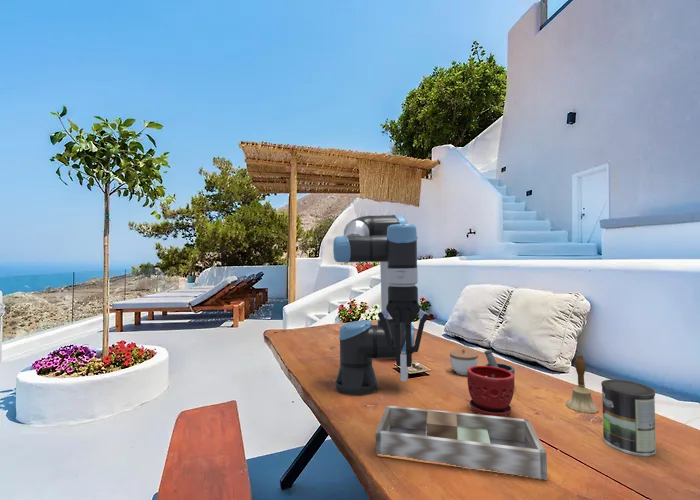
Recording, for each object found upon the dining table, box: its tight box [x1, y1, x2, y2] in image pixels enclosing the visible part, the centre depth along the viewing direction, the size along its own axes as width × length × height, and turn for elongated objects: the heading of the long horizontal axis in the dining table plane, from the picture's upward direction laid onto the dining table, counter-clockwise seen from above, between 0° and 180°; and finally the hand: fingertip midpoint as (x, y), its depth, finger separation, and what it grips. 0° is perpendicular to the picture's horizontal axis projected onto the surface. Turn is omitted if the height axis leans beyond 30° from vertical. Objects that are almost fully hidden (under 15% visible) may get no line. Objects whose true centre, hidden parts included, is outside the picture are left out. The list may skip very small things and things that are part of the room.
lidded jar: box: [449, 348, 479, 376], centre depth 139 cm, size 11×11×9 cm
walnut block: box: [426, 411, 458, 440], centre depth 85 cm, size 7×7×4 cm
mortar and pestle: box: [483, 349, 516, 378], centre depth 124 cm, size 11×9×12 cm
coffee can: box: [601, 379, 657, 457], centre depth 85 cm, size 10×10×14 cm
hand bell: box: [565, 354, 600, 414], centre depth 106 cm, size 8×8×16 cm
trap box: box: [375, 405, 548, 480], centre depth 84 cm, size 36×15×6 cm, turn 75°
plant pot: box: [466, 365, 515, 417], centre depth 104 cm, size 13×13×12 cm
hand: (404, 379), depth 87 cm, fingers closed
